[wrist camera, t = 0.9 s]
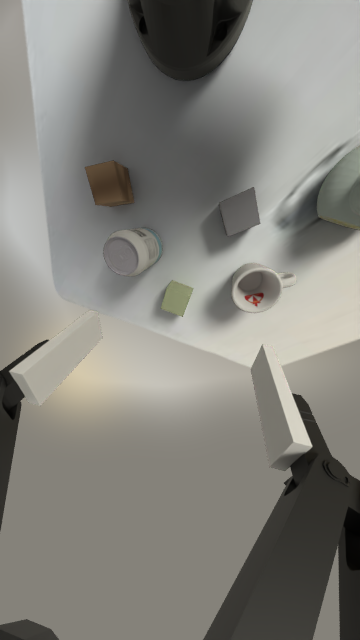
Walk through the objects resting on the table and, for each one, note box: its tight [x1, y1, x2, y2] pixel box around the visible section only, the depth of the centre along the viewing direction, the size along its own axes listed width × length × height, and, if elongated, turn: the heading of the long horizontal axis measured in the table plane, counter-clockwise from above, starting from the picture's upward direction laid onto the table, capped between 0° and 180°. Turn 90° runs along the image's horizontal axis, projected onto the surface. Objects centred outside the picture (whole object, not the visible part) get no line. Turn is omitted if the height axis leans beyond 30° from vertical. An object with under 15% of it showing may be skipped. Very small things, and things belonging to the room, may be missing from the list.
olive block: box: [161, 280, 193, 317], centre depth 39 cm, size 5×5×5 cm
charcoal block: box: [219, 187, 260, 236], centre depth 29 cm, size 5×5×5 cm
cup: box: [231, 263, 297, 313], centre depth 32 cm, size 11×8×8 cm
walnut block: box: [85, 160, 134, 207], centre depth 30 cm, size 5×5×5 cm
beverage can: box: [103, 228, 163, 277], centre depth 31 cm, size 7×7×12 cm
